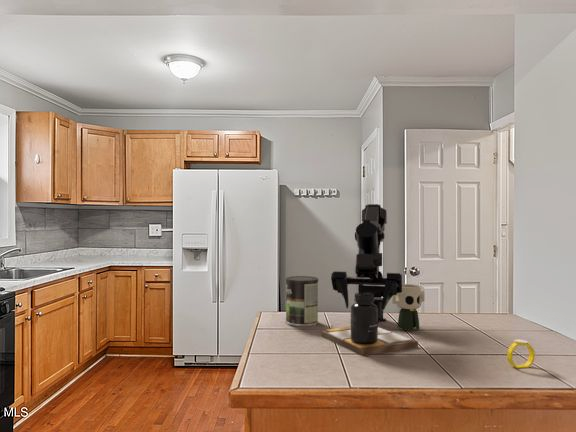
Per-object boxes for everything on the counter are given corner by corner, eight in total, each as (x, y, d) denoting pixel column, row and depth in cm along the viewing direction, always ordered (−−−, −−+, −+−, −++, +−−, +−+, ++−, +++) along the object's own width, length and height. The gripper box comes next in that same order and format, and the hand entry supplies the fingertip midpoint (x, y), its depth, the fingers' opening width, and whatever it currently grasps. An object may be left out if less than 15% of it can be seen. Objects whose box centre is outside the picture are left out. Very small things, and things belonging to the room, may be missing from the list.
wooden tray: (371, 329, 134) (371, 323, 134) (418, 347, 116) (417, 339, 116) (321, 336, 127) (321, 329, 127) (362, 355, 109) (362, 348, 109)
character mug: (399, 334, 129) (399, 288, 129) (386, 328, 135) (386, 284, 135) (431, 331, 132) (431, 286, 132) (417, 325, 139) (417, 283, 139)
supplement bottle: (377, 345, 110) (376, 296, 110) (349, 343, 112) (348, 295, 112) (378, 338, 117) (378, 292, 117) (352, 336, 119) (352, 291, 119)
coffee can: (287, 327, 137) (287, 280, 138) (284, 319, 148) (284, 276, 148) (321, 326, 139) (321, 280, 139) (315, 318, 149) (315, 275, 149)
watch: (527, 365, 102) (529, 339, 102) (536, 369, 100) (538, 342, 100) (504, 365, 101) (505, 338, 101) (512, 369, 98) (514, 342, 99)
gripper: (331, 242, 125) (325, 288, 114) (401, 242, 120) (401, 291, 109) (336, 267, 132) (330, 313, 122) (401, 268, 128) (402, 316, 117)
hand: (364, 308), depth 117 cm, fingers open, 9 cm apart
